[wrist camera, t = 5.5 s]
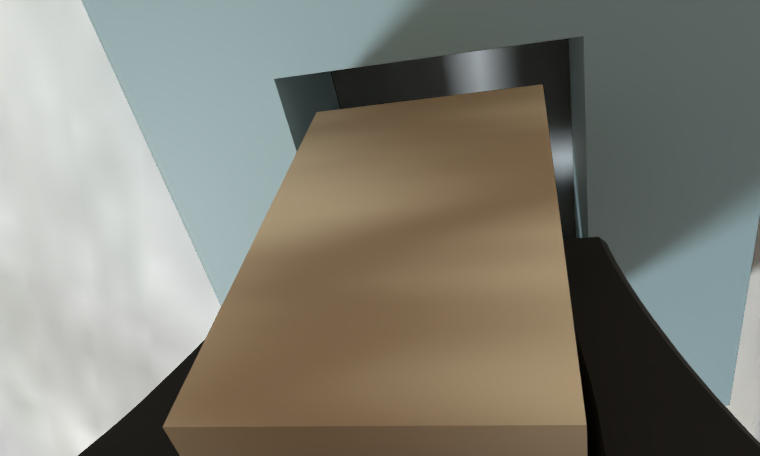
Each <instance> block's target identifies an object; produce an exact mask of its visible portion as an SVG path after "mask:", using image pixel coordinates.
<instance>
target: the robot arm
mask: <svg viewBox="0 0 760 456" xmlns="http://www.w3.org/2000/svg"><path fill="white" fill-rule="evenodd" d="M563 245H564V253H565V260H566V268H567V276H568V284H569V291H570V299H571V307H572V315H573V323H574V330H575V338H576V346H577V354H578V362H579V369H580V377H581V385H582V393H583V400H584V408H585V416H586V424H587V453H588V456H760V443H759V442H758V441H757V440H756V439H755V438H754V437H753V436H752V435H751V434H750V433H749V432H748V431H747V429H746V428H745V427H744V426H743V425H742V424H741V423H740V422H739V421H738V420H737V419H736V418H735V417H734V416H733V414H732V413H731V412H730V411H729V410H728V409H727V408H726V407H725V406H724V405H723V403H722V402H721V401H720V400H719V399H718V398H717V397H716V395H715V394H714V393H713V392H712V391H711V390H710V388H709V387H708V386H707V385H706V384H705V383H704V382H703V380H702V379H701V378H700V377H699V376H698V375H697V373H696V372H695V371H694V370H693V369H692V367H691V366H690V365H689V364H688V362H687V361H686V360H685V359H684V358H683V356H682V355H681V354H680V353H679V351H678V350H677V349H676V347H675V346H674V345H673V344H672V342H671V341H670V340H669V338H668V337H667V336H666V334H665V333H664V332H663V330H662V329H661V328H660V326H659V325H658V324H657V322H656V321H655V320H654V318H653V317H652V316H651V314H650V313H649V312H648V310H647V309H646V307H645V306H644V305H643V303H642V302H641V300H640V299H639V297H638V296H637V294H636V293H635V291H634V290H633V288H632V287H631V285H630V284H629V282H628V280H627V279H626V277H625V276H624V274H623V272H622V271H621V269H620V267H619V266H618V264H617V262H616V260H615V258H614V257H613V255H612V253H611V251H610V249H609V247H608V245H607V243H606V242H605V241H604V240H602V239H601V238H600V237H587V238H572V239H563ZM204 341H205V340H204ZM204 341H203V342H202V343H201V344H200V345H199V346H198V347H197V348H196V349H195V350H194V351H193V352H192V353H191V354H190V355H189V356H188V357H187V358H186V359H185V360H184V361H183V362H182V363H181V364H180V365H179V366H178V367H177V368H176V369H175V370H174V371H173V372H172V373H171V374H169V375H168V376H167V377H166V378H165V379H164V380H163V381H162V382H161V383H160V384H159V385H158V386H157V387H156V388H155V389H154V390H153V391H152V392H151V393H150V394H149V395H148V396H147V397H146V398H145V399H143V400H142V401H141V402H140V403H139V404H138V405H137V406H136V407H135V408H134V409H133V410H131V411H130V412H129V413H128V414H127V415H126V416H125V417H123V418H122V419H121V420H120V421H119V422H118V423H117V424H115V425H114V426H113V427H112V428H111V429H110V430H108V431H107V432H106V433H105V434H104V435H102V436H101V437H100V438H99V439H97V440H96V441H95V442H94V443H93V444H91V445H90V446H89V447H88V448H87V449H85V450H84V451H83V452H82V453H80V454H79V455H78V456H180V455H179V453H178V452H177V450H176V448H175V447H174V445H173V444H172V442H171V440H170V439H169V437H168V435H167V434H166V432H165V430H164V429H163V425H164V423H165V421H166V419H167V417H168V415H169V413H170V411H171V409H172V407H173V404H174V402H175V400H176V398H177V396H178V394H179V392H180V390H181V388H182V386H183V384H184V382H185V380H186V378H187V376H188V374H189V372H190V370H191V368H192V366H193V364H194V362H195V359H196V357H197V355H198V353H199V351H200V349H201V347H202V345H203V343H204Z"/></svg>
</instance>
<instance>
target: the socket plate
mask: <svg viewBox="0 0 760 456" xmlns="http://www.w3.org/2000/svg"><path fill="white" fill-rule="evenodd" d="M82 3H83V5H84V7H85V9H86V11H87V14H88V16H89V18H90V20H91V22H92V24H93V27H94V29H95V31H96V33H97V35H98V38H99V40H100V42H101V44H102V46H103V49H104V51H105V53H106V55H107V57H108V60H109V62H110V64H111V66H112V68H113V70H114V73H115V75H116V77H117V79H118V81H119V84H120V86H121V88H122V90H123V92H124V95H125V97H126V99H127V101H128V103H129V106H130V108H131V110H132V112H133V114H134V116H135V119H136V121H137V123H138V125H139V127H140V130H141V132H142V134H143V136H144V138H145V141H146V143H147V145H148V147H149V149H150V151H151V154H152V156H153V158H154V160H155V162H156V165H157V167H158V169H159V171H160V173H161V176H162V178H163V180H164V182H165V184H166V187H167V189H168V191H169V193H170V195H171V197H172V200H173V202H174V204H175V206H176V208H177V211H178V213H179V215H180V217H181V219H182V222H183V224H184V226H185V228H186V230H187V233H188V235H189V237H190V239H191V241H192V243H193V246H194V248H195V250H196V252H197V254H198V257H199V259H200V261H201V263H202V265H203V268H204V270H205V272H206V274H207V276H208V278H209V281H210V283H211V285H212V287H213V289H214V292H215V294H216V296H217V298H218V300H219V303H220V305H221V306H222V304H223V302H224V300H225V298H226V296H227V294H228V292H229V290H230V288H231V286H232V284H233V282H234V280H235V278H236V276H237V274H238V272H239V270H240V267H241V265H242V263H243V261H244V259H245V257H246V255H247V253H248V251H249V249H250V247H251V245H252V243H253V241H254V239H255V237H256V235H257V233H258V231H259V229H260V227H261V225H262V223H263V220H264V218H265V216H266V214H267V212H268V210H269V208H270V206H271V204H272V202H273V200H274V198H275V196H276V194H277V192H278V190H279V188H280V186H281V184H282V182H283V180H284V178H285V176H286V173H287V171H288V169H289V167H290V165H291V163H292V161H293V159H294V157H295V155H296V153H297V151H298V149H299V147H300V145H301V143H302V141H303V139H304V137H305V135H306V133H307V131H308V128H309V126H310V124H311V122H312V120H313V118H314V116H315V114H316V112H321V111H329V110H338V109H340V107H339V103H338V99H337V95H336V91H335V87H334V83H333V79H332V76H331V72H330V71H335V70H342V69H349V68H357V67H364V66H371V65H378V64H386V63H393V62H400V61H407V60H414V59H422V58H429V57H436V56H443V55H451V54H458V53H465V52H472V51H479V50H487V49H494V48H501V47H508V46H516V45H523V44H530V43H537V42H544V41H552V40H559V39H566V38H569V63H570V91H571V118H572V145H573V173H574V200H575V227H576V238H587V237H600V238H601V239H602V240H604V241H605V242H606V243H607V245H608V247H609V249H610V251H611V253H612V255H613V257H614V258H615V260H616V262H617V264H618V266H619V267H620V269H621V271H622V272H623V274H624V276H625V277H626V279H627V280H628V282H629V284H630V285H631V287H632V288H633V290H634V291H635V293H636V294H637V296H638V297H639V299H640V300H641V302H642V303H643V305H644V306H645V307H646V309H647V310H648V312H649V313H650V314H651V316H652V317H653V318H654V320H655V321H656V322H657V324H658V325H659V326H660V328H661V329H662V330H663V332H664V333H665V334H666V336H667V337H668V338H669V340H670V341H671V342H672V344H673V345H674V346H675V347H676V349H677V350H678V351H679V353H680V354H681V355H682V356H683V358H684V359H685V360H686V361H687V362H688V364H689V365H690V366H691V367H692V369H693V370H694V371H695V372H696V373H697V375H698V376H699V377H700V378H701V379H702V380H703V382H704V383H705V384H706V385H707V386H708V387H709V388H710V390H711V391H712V392H713V393H714V394H715V395H716V397H717V398H718V399H719V400H720V401H721V402H722V403H723V405H730V399H731V392H732V386H733V380H734V374H735V367H736V361H737V355H738V349H739V342H740V336H741V330H742V324H743V317H744V311H745V305H746V298H747V292H748V286H749V280H750V273H751V267H752V261H753V255H754V248H755V242H756V236H757V230H758V223H759V217H760V0H82Z"/></svg>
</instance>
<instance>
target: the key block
mask: <svg viewBox="0 0 760 456" xmlns="http://www.w3.org/2000/svg"><path fill="white" fill-rule="evenodd" d="M163 429H164V430H165V432H166V434H167V435H168V437H169V439H170V440H171V442H172V444H173V445H174V447H175V448H176V450H177V452H178V453H179V455H180V456H588V453H587V424H586V416H585V408H584V400H583V393H582V385H581V377H580V369H579V362H578V354H577V346H576V338H575V330H574V323H573V315H572V307H571V299H570V291H569V284H568V276H567V268H566V260H565V253H564V245H563V237H562V229H561V221H560V214H559V206H558V198H557V190H556V183H555V175H554V167H553V159H552V151H551V144H550V136H549V128H548V120H547V113H546V105H545V97H544V89H543V84H541V85H532V86H524V87H516V88H508V89H500V90H492V91H484V92H476V93H467V94H459V95H451V96H443V97H435V98H427V99H419V100H411V101H403V102H394V103H386V104H378V105H370V106H362V107H354V108H346V109H338V110H329V111H321V112H316V114H315V116H314V118H313V120H312V122H311V124H310V126H309V128H308V131H307V133H306V135H305V137H304V139H303V141H302V143H301V145H300V147H299V149H298V151H297V153H296V155H295V157H294V159H293V161H292V163H291V165H290V167H289V169H288V171H287V173H286V176H285V178H284V180H283V182H282V184H281V186H280V188H279V190H278V192H277V194H276V196H275V198H274V200H273V202H272V204H271V206H270V208H269V210H268V212H267V214H266V216H265V218H264V220H263V223H262V225H261V227H260V229H259V231H258V233H257V235H256V237H255V239H254V241H253V243H252V245H251V247H250V249H249V251H248V253H247V255H246V257H245V259H244V261H243V263H242V265H241V267H240V270H239V272H238V274H237V276H236V278H235V280H234V282H233V284H232V286H231V288H230V290H229V292H228V294H227V296H226V298H225V300H224V302H223V304H222V306H221V308H220V310H219V312H218V315H217V317H216V319H215V321H214V323H213V325H212V327H211V329H210V331H209V333H208V335H207V337H206V339H205V341H204V343H203V345H202V347H201V349H200V351H199V353H198V355H197V357H196V359H195V362H194V364H193V366H192V368H191V370H190V372H189V374H188V376H187V378H186V380H185V382H184V384H183V386H182V388H181V390H180V392H179V394H178V396H177V398H176V400H175V402H174V404H173V407H172V409H171V411H170V413H169V415H168V417H167V419H166V421H165V423H164V425H163Z"/></svg>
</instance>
